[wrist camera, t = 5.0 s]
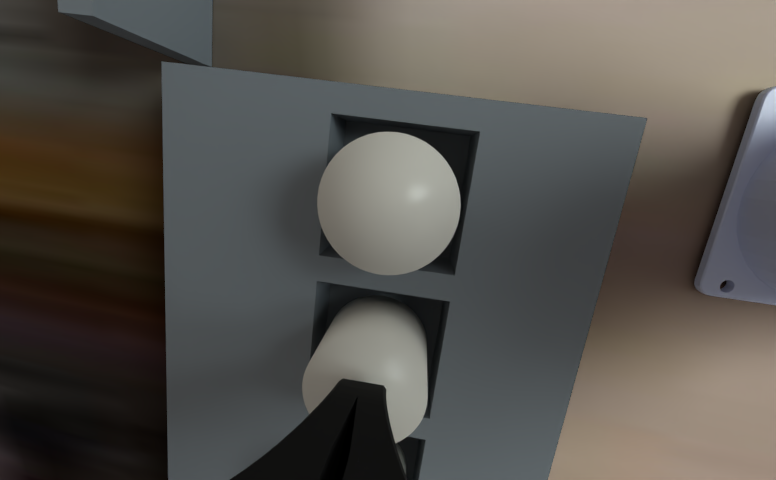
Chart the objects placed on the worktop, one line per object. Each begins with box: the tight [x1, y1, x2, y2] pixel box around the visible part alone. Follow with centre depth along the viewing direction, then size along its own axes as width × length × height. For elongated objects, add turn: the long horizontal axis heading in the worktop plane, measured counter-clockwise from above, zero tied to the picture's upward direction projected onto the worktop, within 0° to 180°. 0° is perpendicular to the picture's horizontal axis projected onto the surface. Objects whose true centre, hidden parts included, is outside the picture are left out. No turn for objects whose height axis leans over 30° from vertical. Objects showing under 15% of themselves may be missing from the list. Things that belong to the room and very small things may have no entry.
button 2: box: [302, 295, 428, 443], centre depth 13 cm, size 4×4×3 cm
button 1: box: [317, 132, 461, 275], centre depth 12 cm, size 4×4×3 cm
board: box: [161, 61, 647, 480], centre depth 16 cm, size 16×25×3 cm, turn 173°
